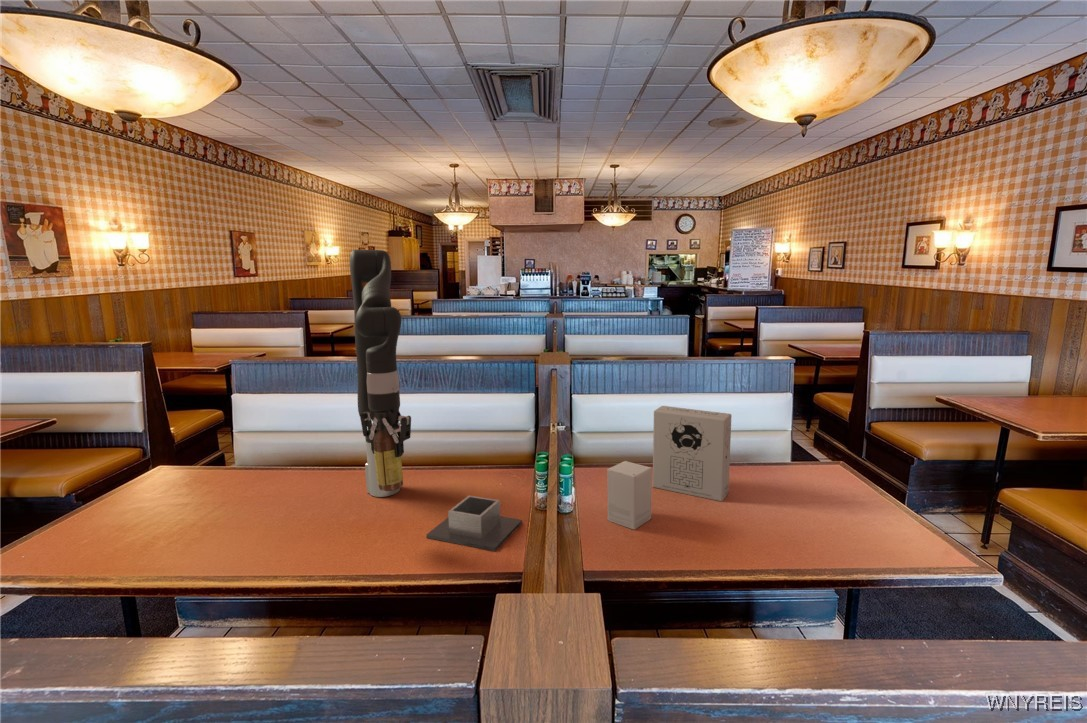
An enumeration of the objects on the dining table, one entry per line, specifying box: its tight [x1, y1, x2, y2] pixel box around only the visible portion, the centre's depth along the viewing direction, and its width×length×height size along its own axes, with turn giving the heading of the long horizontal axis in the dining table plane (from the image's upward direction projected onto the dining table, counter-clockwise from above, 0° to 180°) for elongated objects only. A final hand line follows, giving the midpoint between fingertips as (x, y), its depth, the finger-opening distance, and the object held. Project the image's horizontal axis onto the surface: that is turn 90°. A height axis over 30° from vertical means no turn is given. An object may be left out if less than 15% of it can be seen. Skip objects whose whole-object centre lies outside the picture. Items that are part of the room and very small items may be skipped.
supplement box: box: [606, 460, 653, 531], centre depth 146 cm, size 9×9×15 cm
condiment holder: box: [426, 495, 523, 552], centre depth 142 cm, size 20×16×7 cm
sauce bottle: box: [374, 412, 404, 491], centre depth 133 cm, size 7×6×20 cm
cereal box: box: [652, 405, 732, 502], centre depth 164 cm, size 22×8×25 cm, turn 58°
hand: (387, 454), depth 133 cm, fingers closed on sauce bottle, 6 cm apart
